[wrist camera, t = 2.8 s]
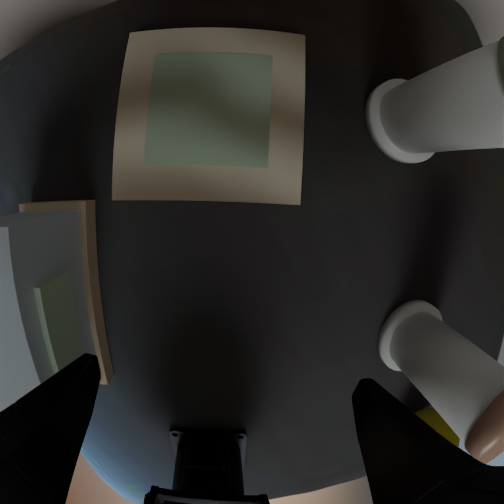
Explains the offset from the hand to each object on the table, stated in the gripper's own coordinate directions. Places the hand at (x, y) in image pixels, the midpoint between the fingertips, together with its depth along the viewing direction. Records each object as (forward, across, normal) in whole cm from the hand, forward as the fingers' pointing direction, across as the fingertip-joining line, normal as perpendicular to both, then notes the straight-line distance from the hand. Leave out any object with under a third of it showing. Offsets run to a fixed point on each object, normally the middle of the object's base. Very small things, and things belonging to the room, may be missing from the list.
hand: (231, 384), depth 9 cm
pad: (+12, +3, -8) cm, 15 cm away
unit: (+10, +11, +4) cm, 16 cm away
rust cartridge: (+10, -15, +5) cm, 18 cm away
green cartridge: (+12, -10, -11) cm, 19 cm away
